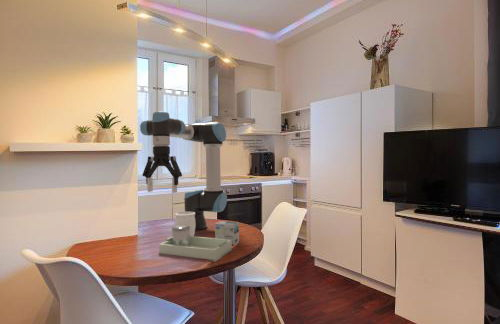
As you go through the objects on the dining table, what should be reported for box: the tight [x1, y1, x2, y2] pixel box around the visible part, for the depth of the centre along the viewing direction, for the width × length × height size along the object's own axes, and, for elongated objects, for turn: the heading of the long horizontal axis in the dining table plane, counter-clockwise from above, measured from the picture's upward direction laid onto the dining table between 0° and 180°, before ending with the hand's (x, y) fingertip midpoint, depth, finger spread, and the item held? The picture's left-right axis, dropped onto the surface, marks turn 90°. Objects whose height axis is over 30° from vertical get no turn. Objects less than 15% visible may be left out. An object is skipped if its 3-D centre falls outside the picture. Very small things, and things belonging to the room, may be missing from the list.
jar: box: [174, 211, 196, 236], centre depth 161 cm, size 11×10×15 cm
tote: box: [158, 235, 233, 263], centre depth 142 cm, size 17×28×6 cm, turn 69°
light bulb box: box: [214, 220, 240, 247], centre depth 157 cm, size 11×7×11 cm, turn 71°
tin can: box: [171, 225, 190, 247], centre depth 145 cm, size 8×8×10 cm
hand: (162, 192), depth 143 cm, fingers open, 13 cm apart
